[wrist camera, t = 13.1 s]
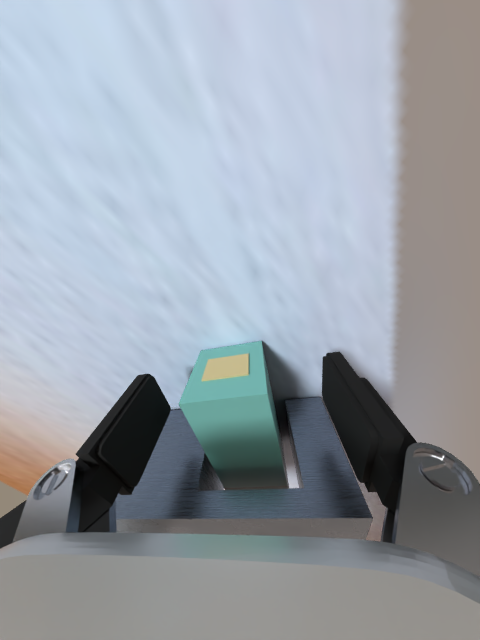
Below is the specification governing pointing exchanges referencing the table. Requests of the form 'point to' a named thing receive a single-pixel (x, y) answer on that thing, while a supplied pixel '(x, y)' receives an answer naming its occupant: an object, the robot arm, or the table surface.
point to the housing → (248, 505)
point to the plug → (236, 417)
